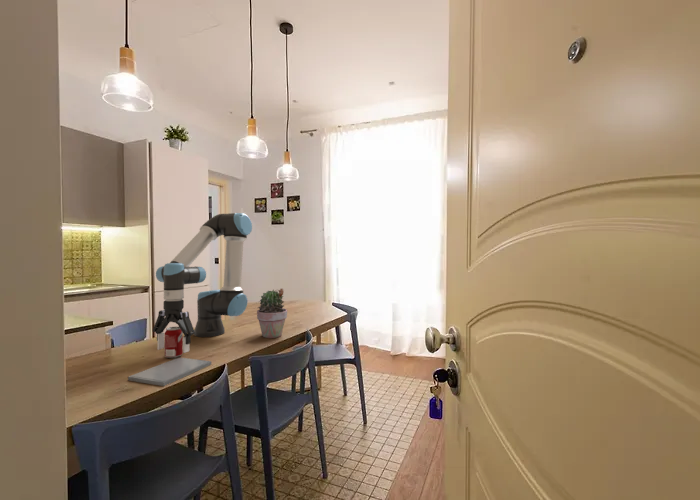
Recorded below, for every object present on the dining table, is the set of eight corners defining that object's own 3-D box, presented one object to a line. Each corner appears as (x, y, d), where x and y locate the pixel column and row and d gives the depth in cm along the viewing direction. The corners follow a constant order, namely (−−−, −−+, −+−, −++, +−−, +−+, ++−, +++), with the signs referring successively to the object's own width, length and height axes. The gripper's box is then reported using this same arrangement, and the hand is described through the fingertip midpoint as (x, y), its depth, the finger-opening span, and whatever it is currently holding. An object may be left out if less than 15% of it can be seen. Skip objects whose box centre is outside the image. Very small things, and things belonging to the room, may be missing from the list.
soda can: (174, 359, 136) (174, 330, 136) (160, 358, 138) (160, 329, 138) (186, 354, 143) (186, 326, 143) (172, 353, 144) (172, 325, 144)
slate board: (179, 360, 136) (179, 357, 136) (211, 364, 131) (211, 361, 131) (128, 380, 115) (128, 376, 115) (164, 386, 110) (164, 382, 110)
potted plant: (257, 331, 184) (257, 286, 184) (292, 331, 183) (292, 286, 183) (245, 339, 166) (246, 289, 166) (284, 340, 165) (284, 290, 165)
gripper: (143, 299, 141) (142, 349, 140) (190, 302, 133) (190, 355, 133) (158, 297, 148) (158, 345, 148) (204, 300, 140) (203, 350, 140)
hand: (173, 350), depth 140 cm, fingers open, 13 cm apart
